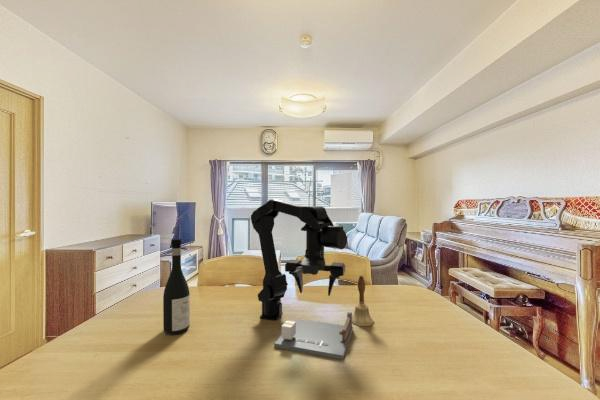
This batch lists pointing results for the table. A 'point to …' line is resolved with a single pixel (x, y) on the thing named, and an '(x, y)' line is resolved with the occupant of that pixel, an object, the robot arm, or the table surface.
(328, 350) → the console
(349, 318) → the door
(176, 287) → the wine bottle
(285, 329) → the fader
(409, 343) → the table surface
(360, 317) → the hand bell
